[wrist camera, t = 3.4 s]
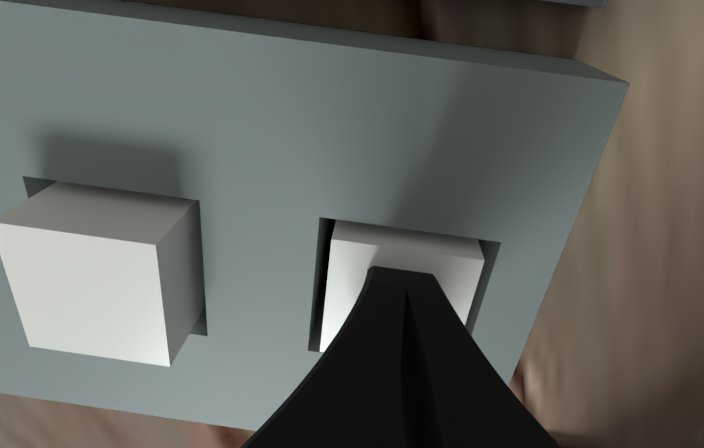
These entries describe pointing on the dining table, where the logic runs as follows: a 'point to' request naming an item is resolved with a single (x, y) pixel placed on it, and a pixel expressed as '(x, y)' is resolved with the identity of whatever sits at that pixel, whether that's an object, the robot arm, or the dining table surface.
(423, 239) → the button inner
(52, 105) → the button board
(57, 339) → the button middle
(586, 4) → the pattern card
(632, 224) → the dining table surface
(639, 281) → the dining table surface
